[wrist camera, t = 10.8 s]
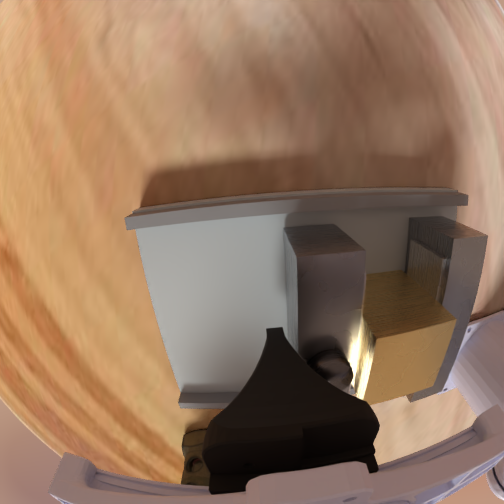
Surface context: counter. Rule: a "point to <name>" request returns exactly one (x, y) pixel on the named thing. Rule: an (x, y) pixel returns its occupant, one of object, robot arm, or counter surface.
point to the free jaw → (325, 299)
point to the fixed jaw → (446, 276)
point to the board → (254, 270)
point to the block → (399, 338)
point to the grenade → (194, 460)
